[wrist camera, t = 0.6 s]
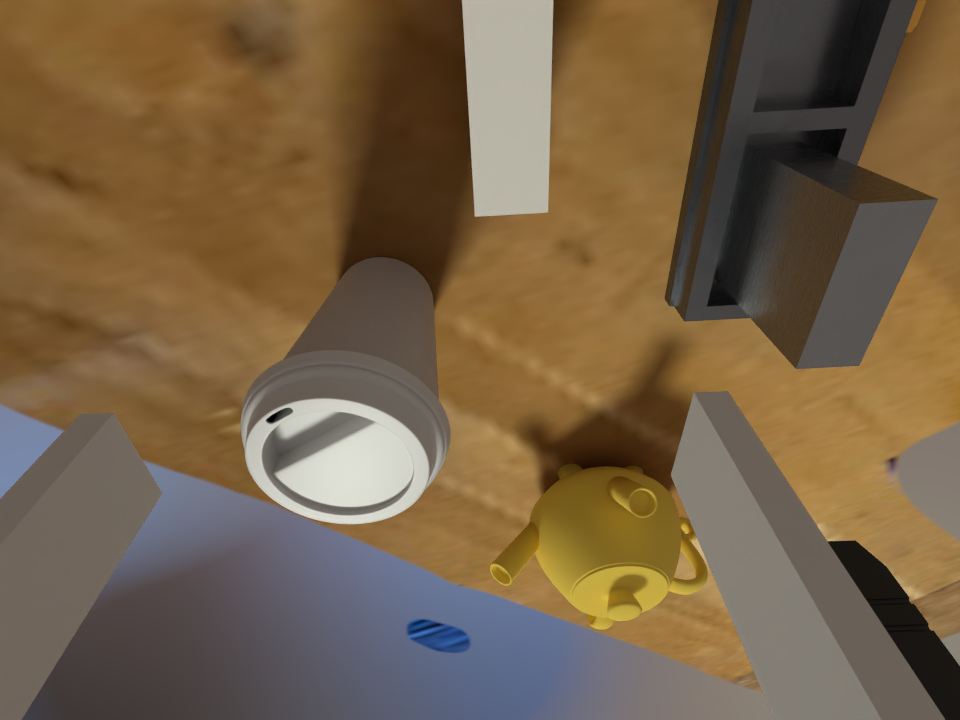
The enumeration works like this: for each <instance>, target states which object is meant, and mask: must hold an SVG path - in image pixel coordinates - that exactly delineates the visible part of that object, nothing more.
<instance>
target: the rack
mask: <svg viewBox="0 0 960 720" xmlns="http://www.w3.org/2000/svg"><path fill="white" fill-rule="evenodd" d="M926 1H927V0H719V1H718V7H717V13H716V18H715V24H714V29H713V35H712V40H711V46H710V51H709V57H708V62H707V68H706V73H705V79H704V84H703V90H702V96H701V101H700V107H699V112H698V118H697V123H696V129H695V134H694V140H693V145H692V151H691V156H690V162H689V167H688V173H687V179H686V184H685V190H684V195H683V201H682V206H681V212H680V217H679V223H678V228H677V234H676V239H675V245H674V250H673V256H672V262H671V267H670V273H669V278H668V284H667V289H666V295H665V300H666V302H667V303H668V305H669V306H674V307H675V308H676V310H677V311H678V313H679V314H680V316H681V317H682V319H683V320H684V321H702V320H720V319H739V318H751V319H752V320H753V321H754V323H755V324H756V325H757V326H758V327H759V328H760V329H761V330H762V331H763V333H764V334H765V335H766V336H767V337H768V338H769V339H770V340H771V342H772V343H773V344H774V345H775V346H776V347H777V348H778V349H779V350H780V352H781V353H782V354H783V355H784V356H785V357H786V358H787V359H788V361H789V362H790V363H791V364H792V365H793V366H794V367H795V368H796V369H805V368H824V367H843V366H859V365H860V363H861V361H862V358H863V356H864V354H865V352H866V350H867V348H868V346H869V344H870V342H871V339H872V337H873V335H874V333H875V331H876V329H877V327H878V325H879V323H880V321H881V318H882V316H883V314H884V312H885V310H886V308H887V306H888V304H889V302H890V299H891V297H892V295H893V293H894V291H895V289H896V287H897V285H898V283H899V281H900V278H901V276H902V274H903V272H904V270H905V268H906V266H907V264H908V262H909V259H910V257H911V255H912V253H913V251H914V249H915V247H916V245H917V243H918V240H919V238H920V236H921V234H922V232H923V230H924V228H925V226H926V224H927V222H928V219H929V217H930V215H931V213H932V211H933V209H934V207H935V205H936V203H937V200H938V199H936V198H934V197H932V196H929V195H927V194H924V193H922V192H920V191H917V190H915V189H912V188H910V187H908V186H905V185H903V184H900V183H898V182H896V181H893V180H891V179H888V178H886V177H884V176H881V175H879V174H876V173H874V172H872V171H869V170H867V169H864V168H862V167H860V166H857V164H858V161H859V159H860V156H861V153H862V150H863V148H864V145H865V142H866V140H867V137H868V134H869V131H870V129H871V126H872V123H873V121H874V118H875V115H876V112H877V110H878V107H879V104H880V101H881V99H882V96H883V93H884V91H885V88H886V85H887V82H888V80H889V77H890V74H891V71H892V69H893V66H894V63H895V61H896V58H897V55H898V52H899V50H900V47H901V44H902V42H903V39H904V36H905V33H907V32H913V29H914V27H917V25H918V22H919V19H920V17H921V14H922V11H923V9H924V6H925V3H926Z"/></svg>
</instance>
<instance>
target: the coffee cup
mask: <svg viewBox="0 0 960 720" xmlns="http://www.w3.org/2000/svg"><path fill="white" fill-rule="evenodd" d="M241 435H242V441H243V445H244V449H245V459H246V463H247V467H248V469H249V472H250V474H251V476H252V477H253V479H254V481H255V482H256V483H257V485H258V486H259V487H260V488H261V489H262V490H263V491H264V492H265V493H266V494H267V495H268V496H269V497H270V498H272V499H273V500H274V501H276V502H277V503H279V504H280V505H282V506H284V507H285V508H287V509H289V510H291V511H293V512H295V513H298V514H300V515H303V516H305V517H308V518H312V519H315V520H319V521H324V522H330V523H338V524H363V523H370V522H376V521H380V520H384V519H387V518H390V517H392V516H395V515H397V514H399V513H401V512H402V511H404V510H406V509H407V508H409V507H410V506H411V505H412V504H414V503H415V502H416V501H417V500H418V499H419V497H420V496H421V495H422V493H423V492H424V490H425V489H426V488H427V487H428V486H429V485H430V483H431V482H432V481H433V480H434V478H435V477H436V475H437V474H438V472H439V471H440V469H441V467H442V465H443V463H444V460H445V458H446V456H447V453H448V450H449V445H450V426H449V421H448V418H447V415H446V413H445V410H444V408H443V406H442V405H441V403H440V401H439V396H438V379H437V360H436V341H435V321H434V301H433V295H432V291H431V289H430V286H429V284H428V283H427V281H426V280H425V278H424V277H423V276H422V275H421V274H420V273H419V272H418V271H417V270H416V269H415V268H413V267H412V266H410V265H409V264H407V263H405V262H402V261H400V260H397V259H393V258H388V257H374V258H368V259H365V260H362V261H360V262H358V263H356V264H354V265H353V266H351V267H350V268H349V269H348V270H347V271H346V272H345V273H344V275H343V276H342V277H341V279H340V280H339V282H338V283H337V285H336V286H335V287H334V289H333V290H332V292H331V293H330V295H329V296H328V297H327V299H326V300H325V302H324V303H323V304H322V306H321V307H320V309H319V310H318V312H317V313H316V314H315V316H314V317H313V319H312V320H311V321H310V323H309V324H308V326H307V327H306V329H305V330H304V331H303V333H302V334H301V336H300V337H299V338H298V340H297V341H296V343H295V344H294V345H293V347H292V348H291V350H290V351H289V352H288V354H287V355H286V356H285V358H284V359H283V360H282V361H280V362H278V363H276V364H274V365H272V366H271V367H269V368H268V369H267V370H265V371H264V372H263V373H262V374H261V375H260V376H259V377H258V378H257V379H256V380H255V381H254V382H253V384H252V385H251V387H250V388H249V390H248V392H247V394H246V397H245V399H244V403H243V408H242V415H241Z"/></svg>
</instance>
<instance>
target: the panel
mask: <svg viewBox="0 0 960 720" xmlns="http://www.w3.org/2000/svg"><path fill="white" fill-rule="evenodd" d="M462 9H463V26H464V43H465V59H466V76H467V93H468V109H469V126H470V143H471V159H472V176H473V193H474V210H475V217H477V216H495V215H512V214H529V213H547V212H548V190H549V151H550V113H551V74H552V35H553V0H462Z"/></svg>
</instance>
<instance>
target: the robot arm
mask: <svg viewBox="0 0 960 720" xmlns="http://www.w3.org/2000/svg"><path fill="white" fill-rule="evenodd" d="M671 477H672V480H673V482H674V485H675V487H676V489H677V492H678V494H679V496H680V499H681V501H682V503H683V506H684V508H685V510H686V513H687V515H688V518H689V520H690V522H691V525H692V527H693V529H694V532H695V534H696V536H697V539H698V541H699V543H700V546H701V548H702V551H703V553H704V555H705V558H706V560H707V562H708V565H709V567H710V569H711V572H712V574H713V576H714V579H715V581H716V583H717V586H718V588H719V591H720V593H721V595H722V598H723V600H724V602H725V605H726V607H727V609H728V612H729V614H730V616H731V619H732V621H733V624H734V626H735V628H736V631H737V633H738V635H739V638H740V640H741V642H742V645H743V647H744V649H745V652H746V654H747V657H748V659H749V661H750V664H751V666H752V668H753V671H754V673H755V675H756V678H757V680H758V682H759V685H760V687H761V689H762V692H763V694H764V696H765V699H766V701H767V704H768V706H769V708H770V711H771V713H772V715H773V717H774V720H960V666H959V665H958V663H957V662H956V660H955V659H954V658H953V656H952V655H951V654H950V652H949V651H948V650H947V648H946V647H945V646H944V645H943V643H942V642H941V640H940V639H939V637H938V636H937V635H936V633H935V632H934V631H931V630H930V629H929V627H928V623H927V621H926V620H925V618H924V617H923V616H922V614H921V613H920V612H919V610H918V609H917V608H916V606H915V605H914V604H911V603H910V602H909V597H908V595H907V594H906V593H905V591H904V590H903V589H902V587H901V586H900V585H899V583H898V582H897V580H896V579H895V578H894V576H893V575H892V574H891V572H890V571H889V570H888V568H887V567H886V566H885V565H884V564H883V563H881V562H880V561H879V560H878V559H877V558H875V557H874V556H873V555H872V554H871V553H869V552H868V551H867V550H866V549H865V548H864V547H862V546H861V545H860V544H859V543H858V542H856V541H829V542H827V540H826V539H825V537H824V536H823V534H822V533H821V531H820V530H819V528H818V527H817V525H816V524H815V522H814V521H813V519H812V518H811V516H810V515H809V513H808V512H807V510H806V509H805V507H804V505H803V504H802V502H801V501H800V499H799V498H798V496H797V495H796V493H795V492H794V490H793V489H792V487H791V486H790V484H789V483H788V481H787V480H786V478H785V477H784V475H783V474H782V472H781V471H780V469H779V468H778V466H777V465H776V463H775V462H774V460H773V459H772V457H771V456H770V454H769V453H768V451H767V450H766V448H765V447H764V445H763V444H762V442H761V441H760V439H759V438H758V436H757V435H756V433H755V432H754V430H753V428H752V427H751V425H750V424H749V422H748V421H747V419H746V418H745V416H744V415H743V413H742V412H741V410H740V409H739V407H738V406H737V404H736V403H735V401H734V400H733V398H732V397H731V395H730V394H729V392H728V391H721V392H694V394H693V397H692V401H691V404H690V408H689V412H688V415H687V419H686V422H685V426H684V429H683V433H682V437H681V440H680V444H679V447H678V451H677V454H676V458H675V462H674V465H673V469H672V472H671ZM161 494H162V492H161V490H160V489H159V487H158V485H157V484H156V482H155V480H154V479H153V477H152V475H151V474H150V472H149V470H148V469H147V467H146V466H145V464H144V462H143V460H142V459H141V457H140V456H139V454H138V452H137V451H136V449H135V447H134V446H133V444H132V442H131V441H130V439H129V437H128V436H127V434H126V432H125V431H124V429H123V428H122V426H121V424H120V423H119V421H118V419H117V418H116V416H115V414H114V413H99V414H80V415H79V416H78V417H77V418H76V419H75V420H74V421H73V422H72V423H71V424H70V425H69V426H68V427H67V428H66V430H65V431H64V432H63V433H62V434H61V435H60V436H59V437H58V438H57V439H56V440H55V441H54V442H53V443H52V444H51V446H50V447H49V448H48V449H47V450H46V451H45V452H44V453H43V454H42V455H41V456H40V457H39V458H38V459H37V461H35V463H34V464H33V465H32V466H31V467H30V468H29V469H28V470H27V471H26V472H25V473H24V474H23V475H22V477H20V479H19V480H18V481H17V482H16V483H15V484H14V485H13V486H12V487H11V488H10V489H9V490H8V491H7V492H6V493H5V495H4V496H3V497H2V498H1V499H0V720H21V719H22V718H23V716H24V714H25V713H26V711H27V710H28V708H29V706H30V705H31V703H32V702H33V700H34V699H35V697H36V695H37V694H38V692H39V690H40V689H41V687H42V686H43V684H44V682H45V681H46V679H47V678H48V676H49V674H50V673H51V671H52V669H53V668H54V666H55V665H56V663H57V662H58V660H59V658H60V657H61V655H62V654H63V652H64V650H65V649H66V647H67V645H68V644H69V642H70V641H71V639H72V637H73V635H74V634H75V633H76V631H77V629H78V628H79V626H80V625H81V623H82V621H83V620H84V618H85V617H86V615H87V613H88V612H89V610H90V608H91V607H92V605H93V604H94V602H95V600H96V599H97V597H98V596H99V594H100V592H101V591H102V589H103V587H104V586H105V584H106V583H107V581H108V580H109V578H110V576H111V575H112V573H113V572H114V570H115V568H116V567H117V565H118V563H119V562H120V560H121V559H122V557H123V555H124V554H125V552H126V550H127V549H128V547H129V546H130V544H131V542H132V541H133V539H134V538H135V536H136V534H137V533H138V531H139V530H140V528H141V526H142V525H143V523H144V522H145V520H146V518H147V517H148V515H149V514H150V512H151V510H152V509H153V507H154V506H155V504H156V502H157V501H158V499H159V498H160V496H161Z"/></svg>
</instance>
